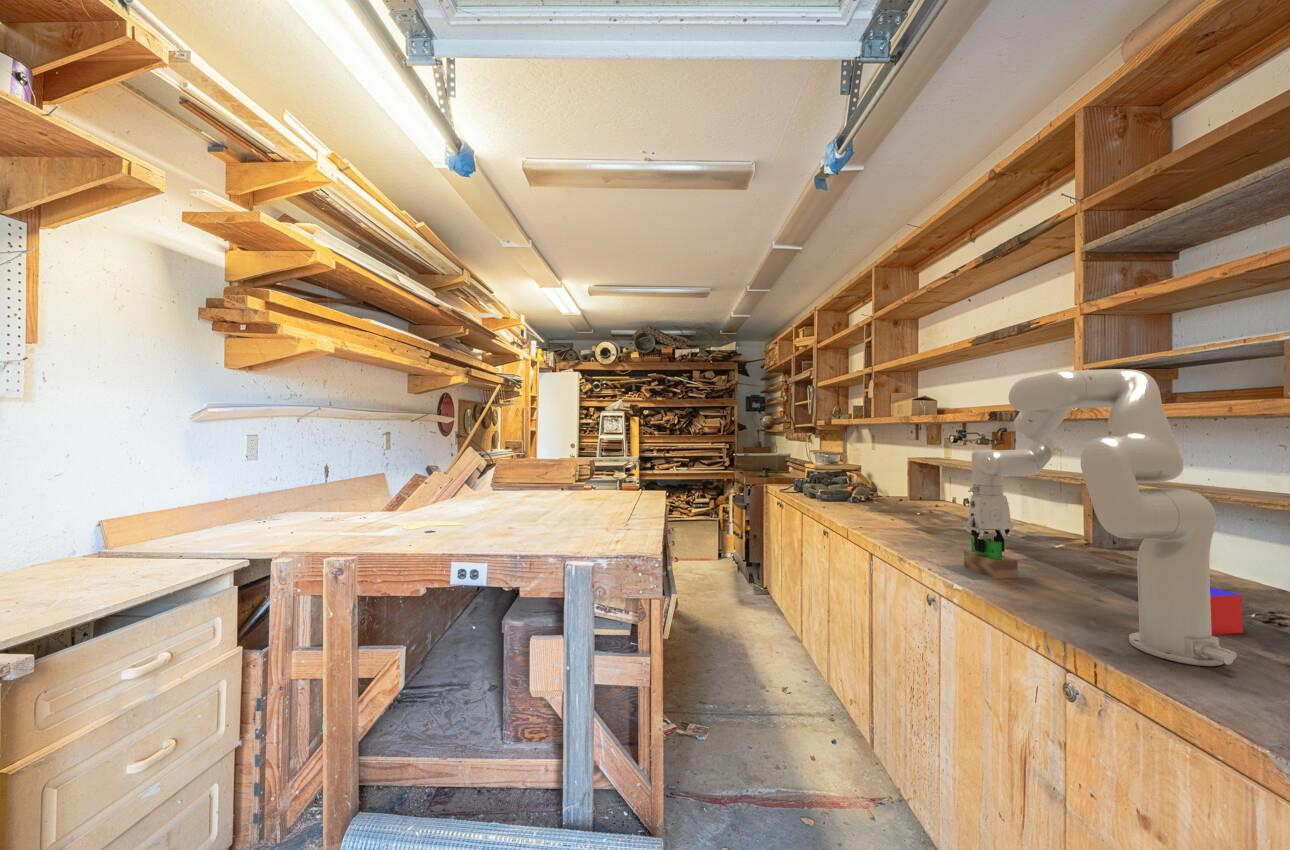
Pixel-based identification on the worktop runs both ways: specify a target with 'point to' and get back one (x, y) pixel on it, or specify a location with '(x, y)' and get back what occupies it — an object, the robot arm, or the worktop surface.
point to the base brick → (991, 565)
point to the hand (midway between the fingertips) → (989, 550)
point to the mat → (977, 576)
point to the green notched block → (989, 548)
